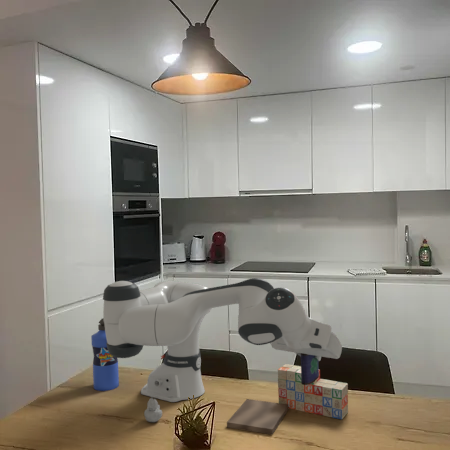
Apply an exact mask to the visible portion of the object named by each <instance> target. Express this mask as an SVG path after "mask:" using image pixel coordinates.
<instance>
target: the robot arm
mask: <svg viewBox="0 0 450 450" xmlns="http://www.w3.org/2000/svg"><path fill="white" fill-rule="evenodd" d="M102 300H103V315H102V316H103V318H104V325H105V333H106V338H107V343H106V344H107V349H108V352H109V354H111V355H112V356H113V357H116V358H117V359H128V358H132V357H135V356H137V355H139V354H140V353H141V352H142V350H143V347H144V346H147V347H164V346H165V347H167V351H166V352H164V353H163V354H162V355H161V356H160V357H161V358H160V360H163V362H162V363H160V364H159V365H158V366H157V367H155V369H153V370H152V371H151V372H150V373H149V375H148V377H147V383H146V384H144V386H143V387H142V388H141V390H140V394H141V395H144V396H147V397H150V398H151V397H152V398H153V399H154V398H155V399H159V400H162V401H165V402H169V403H170V402H171V403H175V402H179V401H185V400H191V399H196V398H198V397H201V396H202V395H204V393H205V392H206V391H205V389H206V388H205V386H204V383H203V377H202V372H201V366H202V365H201V363H202V359H201V358H202V357H201V351H200V328H201V325H202V322H203V319H204V318H205V317H206V316H207V315H208V314H209V313H210V312H211V311H212V309H215V308H220V307H226V306H232V305H238V315H237V318H238V319H237V321H238V322H237V323H238V324H237V326H238V327H237V328H238V329H237V330H238V332H237V333H238V335H239V336H240V338H242V339H243V340H244V341H246V342H247V343H250V344H252V345H255V346H264V345H268V344H270V346H271V348H272V349H274V350H276V351H284V352H290V353H295V354H296V355H298V356H299V357H300V358H301V353H304V354H308V355H314V359H315V360H317V361H319V362H320V361H321V359H322V357H323V358H327V359H330V358H331V359H335V360H338V359H339V358H340V357H341V354H342V352H343V351H342V350H343V346H342V343H341V342H340V340H339V338H338V336H337V335H336V334H335V333H334V332H332V325H330V324H328V323H325V322H321V321H318V320H315V319H314V318H312V317H309V316H308V314H307V313H306V309H305V308H304V306H303V304H302V302H301V300H300V299H299V298H298V296H297V295H296V294H295V293H294V292H293V291H291V290H290V289H288V288H285V287H274V286H273V285H272V284H271V283H270V282H268V281H267V280H265V279H263V278H261V277H251V278H248V279H245V280H242V281H239V282H235V283H232V284H231V283H230V284H226V285H220V286H219V285H218V286H215V287H214V286H213V287H207V286H205V285H203V284H200V283H194V282H189V281H188V282H186V281H178V280H177V281H176V280H165V281H164V280H163V281H159V282H157V283H156V284H154V286H153V287H151V288H144V289H141V290H140V288H139V286H138V285H137V284H136V283H135V282H131V281H127V280H119V281H118V280H117V281H114V282H113V283H110V284H108V285H107V286H106V287H105V288H104V291H103V296H102ZM193 395H194V398H193ZM188 397H189V398H190V399H188Z"/></svg>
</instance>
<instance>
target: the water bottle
mask: <svg viewBox="0 0 450 450" xmlns="http://www.w3.org/2000/svg"><path fill="white" fill-rule="evenodd" d="M97 326H98V330H97V332H94V333H93V334H92V335H91V347H92V353H93V361H92V379H93V389H94V390H95V391H99V392H106V391H107V392H108V391H113V390H115V389H117V388H118V387H119V386H120V381H119V380H120V377H119V373H120V372H119V358H116V357H113V356H112V355H111V354H109V352H108V349H107V344H106V343H107V338H106V333H105V325H104V318H102V317H101V319H100V320H99V322H98V325H97Z"/></svg>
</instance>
